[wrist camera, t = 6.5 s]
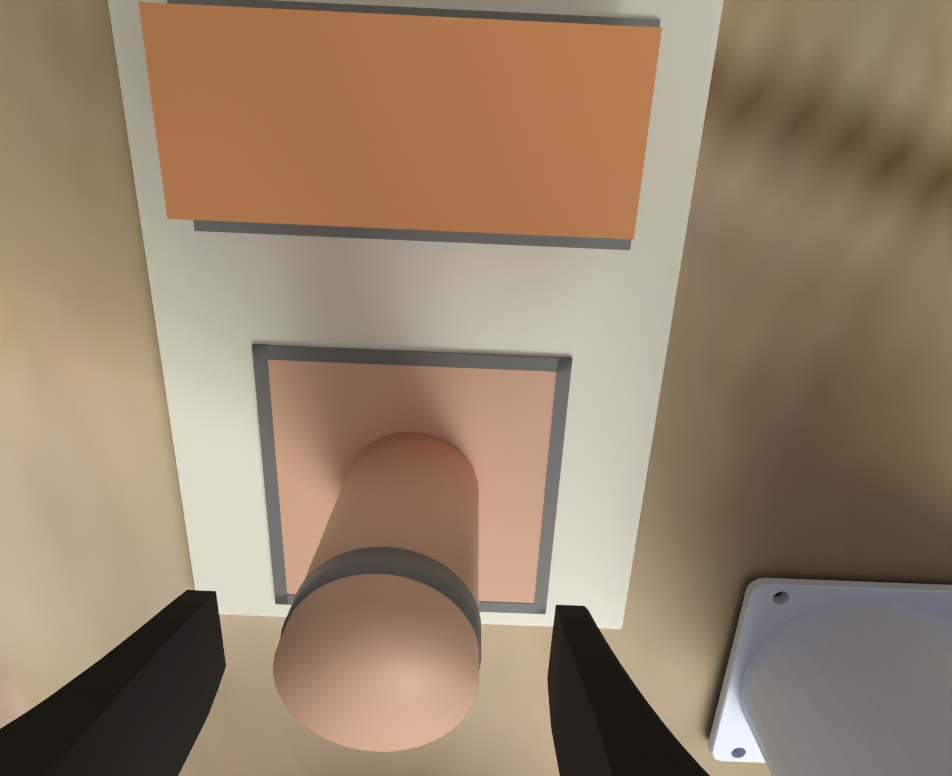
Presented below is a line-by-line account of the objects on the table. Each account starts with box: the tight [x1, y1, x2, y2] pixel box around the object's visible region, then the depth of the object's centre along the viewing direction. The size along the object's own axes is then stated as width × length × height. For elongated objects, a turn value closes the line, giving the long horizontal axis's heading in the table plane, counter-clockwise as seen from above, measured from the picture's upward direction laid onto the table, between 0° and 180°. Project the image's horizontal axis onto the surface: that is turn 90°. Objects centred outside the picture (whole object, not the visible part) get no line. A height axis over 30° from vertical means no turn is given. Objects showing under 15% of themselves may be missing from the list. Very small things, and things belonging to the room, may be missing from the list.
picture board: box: [108, 0, 724, 629], centre depth 17 cm, size 14×20×1 cm
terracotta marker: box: [273, 432, 481, 752], centre depth 15 cm, size 4×4×7 cm
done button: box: [139, 2, 662, 240], centre depth 13 cm, size 10×4×2 cm, turn 88°
